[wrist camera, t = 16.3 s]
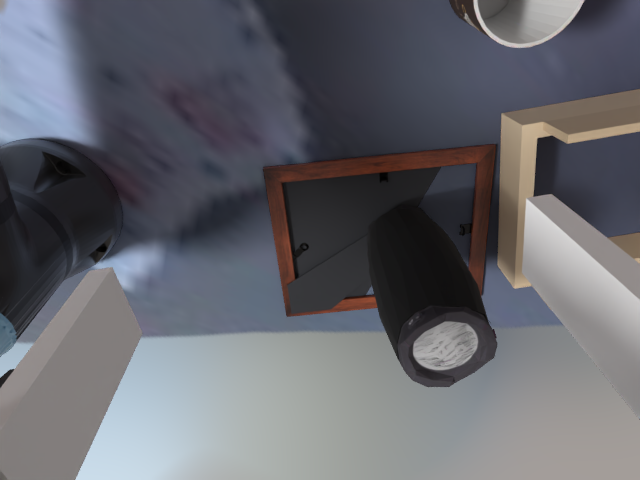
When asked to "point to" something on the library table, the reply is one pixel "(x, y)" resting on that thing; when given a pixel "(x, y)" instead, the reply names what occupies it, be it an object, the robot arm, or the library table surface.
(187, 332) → the library table surface
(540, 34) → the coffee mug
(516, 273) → the carton
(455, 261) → the portable speaker
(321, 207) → the picture frame
